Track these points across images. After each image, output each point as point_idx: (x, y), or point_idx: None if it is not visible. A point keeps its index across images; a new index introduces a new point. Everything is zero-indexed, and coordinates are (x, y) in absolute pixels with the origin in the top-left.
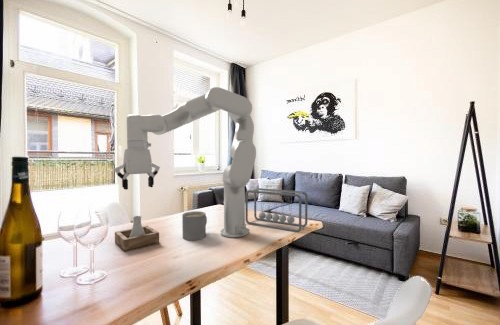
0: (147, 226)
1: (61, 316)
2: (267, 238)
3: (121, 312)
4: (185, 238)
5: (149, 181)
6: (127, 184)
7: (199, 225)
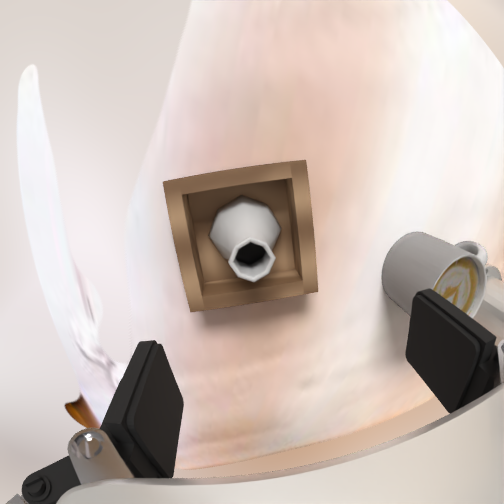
0: (302, 174)
1: None
2: None
3: (190, 467)
4: (384, 285)
5: (439, 358)
6: (174, 438)
7: None
